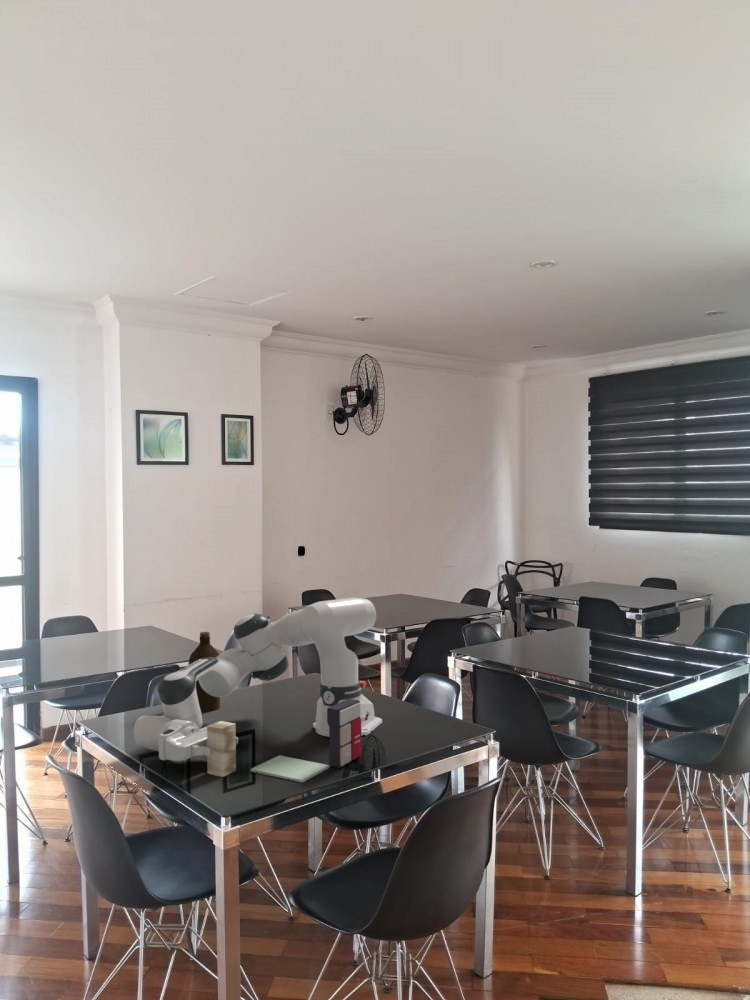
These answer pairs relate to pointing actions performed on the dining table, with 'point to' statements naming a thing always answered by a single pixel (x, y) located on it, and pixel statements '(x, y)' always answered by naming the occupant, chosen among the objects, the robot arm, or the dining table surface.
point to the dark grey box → (344, 732)
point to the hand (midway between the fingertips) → (224, 746)
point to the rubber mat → (290, 768)
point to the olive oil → (204, 698)
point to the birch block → (221, 748)
